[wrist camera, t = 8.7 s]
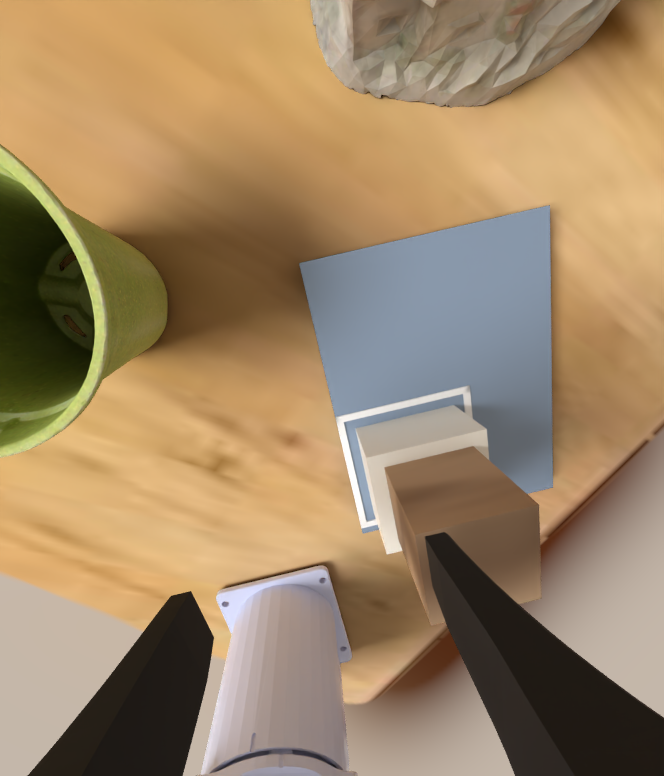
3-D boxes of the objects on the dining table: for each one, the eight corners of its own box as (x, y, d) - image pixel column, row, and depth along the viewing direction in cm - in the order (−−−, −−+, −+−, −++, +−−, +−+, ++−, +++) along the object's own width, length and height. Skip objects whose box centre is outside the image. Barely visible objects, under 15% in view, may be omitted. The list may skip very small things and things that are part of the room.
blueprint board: (542, 479, 22) (554, 488, 21) (360, 522, 21) (363, 534, 20) (535, 210, 17) (551, 204, 16) (299, 265, 16) (298, 262, 15)
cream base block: (463, 489, 20) (494, 528, 17) (373, 511, 20) (386, 554, 17) (453, 405, 18) (486, 429, 15) (355, 428, 18) (366, 457, 15)
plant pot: (101, 151, 14) (-177, -46, 6) (240, 314, 17) (176, 330, 9) (-31, 280, 16) (-418, 261, 7) (119, 416, 18) (-41, 517, 10)
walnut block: (480, 520, 17) (541, 598, 12) (398, 540, 16) (430, 625, 12) (473, 445, 15) (538, 504, 11) (384, 467, 15) (415, 535, 11)
